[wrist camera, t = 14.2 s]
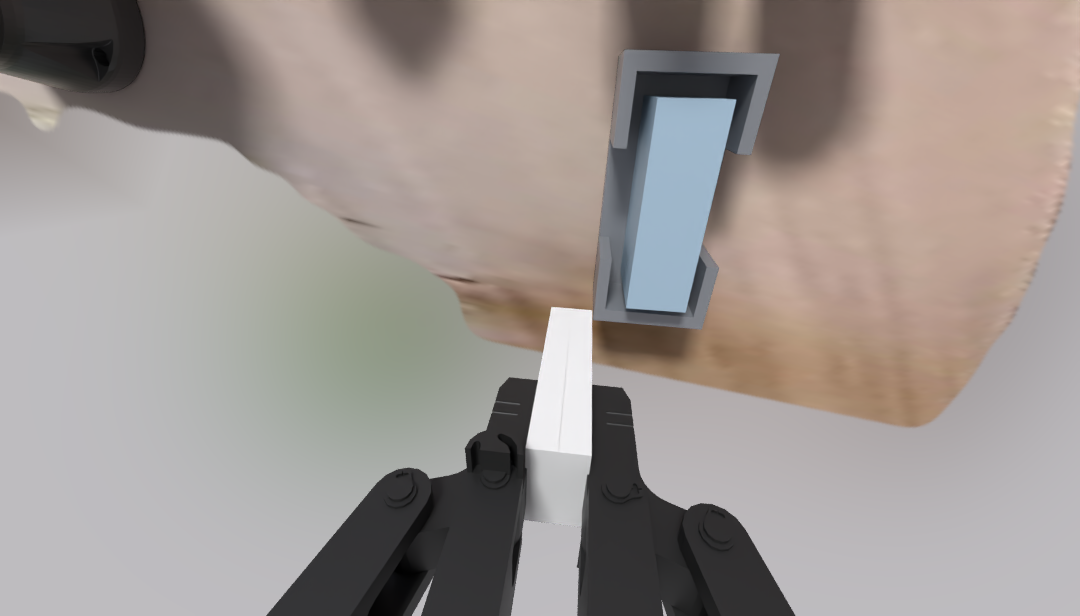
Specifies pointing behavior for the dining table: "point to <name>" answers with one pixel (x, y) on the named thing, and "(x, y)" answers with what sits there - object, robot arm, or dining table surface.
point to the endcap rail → (635, 78)
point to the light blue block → (671, 197)
